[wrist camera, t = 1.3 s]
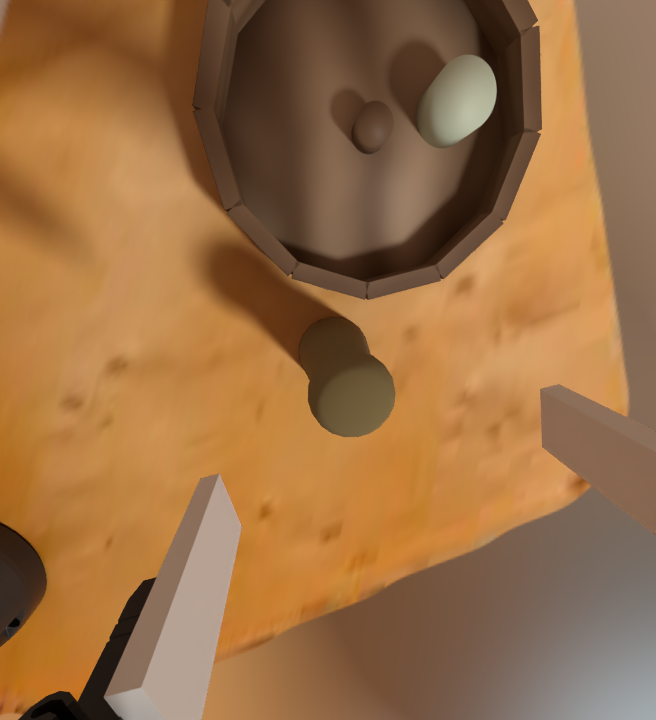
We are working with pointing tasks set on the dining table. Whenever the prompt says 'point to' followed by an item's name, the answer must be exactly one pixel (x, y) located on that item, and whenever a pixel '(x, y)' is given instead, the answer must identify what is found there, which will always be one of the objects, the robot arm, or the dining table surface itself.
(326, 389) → the olive green knobbed peg
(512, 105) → the tray
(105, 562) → the dining table surface
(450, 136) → the pale beige rounded lump
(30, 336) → the dining table surface
